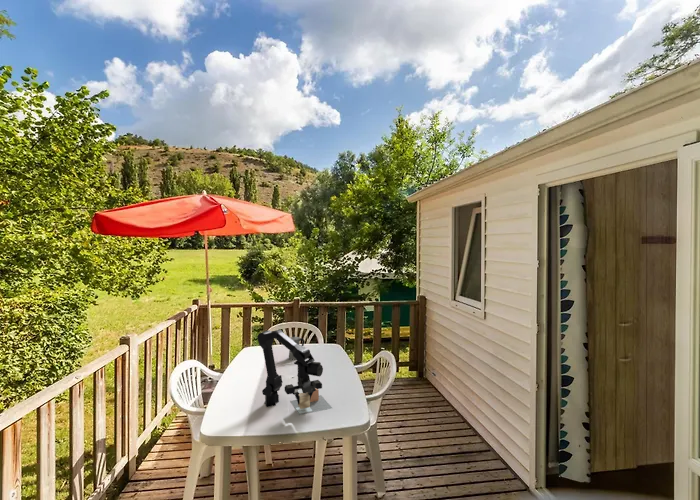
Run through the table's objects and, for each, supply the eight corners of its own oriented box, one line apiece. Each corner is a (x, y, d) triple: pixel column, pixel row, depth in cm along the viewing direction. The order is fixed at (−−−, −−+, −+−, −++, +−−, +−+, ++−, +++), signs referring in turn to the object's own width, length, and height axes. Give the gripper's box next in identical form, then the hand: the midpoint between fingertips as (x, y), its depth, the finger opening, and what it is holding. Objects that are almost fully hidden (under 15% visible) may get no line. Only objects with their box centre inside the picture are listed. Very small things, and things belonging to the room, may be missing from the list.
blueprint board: (299, 416, 186) (299, 414, 186) (290, 402, 203) (289, 400, 203) (332, 409, 194) (332, 408, 194) (321, 396, 210) (321, 395, 210)
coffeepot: (283, 359, 278) (283, 335, 278) (289, 355, 287) (289, 332, 287) (301, 361, 273) (301, 336, 272) (307, 357, 282) (307, 333, 281)
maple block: (300, 408, 189) (300, 397, 189) (297, 405, 194) (297, 393, 194) (309, 407, 191) (309, 395, 191) (307, 403, 196) (306, 391, 196)
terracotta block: (309, 402, 201) (309, 391, 201) (307, 398, 206) (307, 387, 206) (318, 400, 203) (318, 389, 203) (315, 396, 208) (315, 386, 208)
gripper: (289, 381, 181) (290, 413, 181) (325, 375, 188) (325, 406, 189) (284, 374, 191) (284, 404, 192) (318, 368, 199) (318, 397, 199)
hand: (303, 403), depth 192 cm, fingers closed on maple block, 5 cm apart
